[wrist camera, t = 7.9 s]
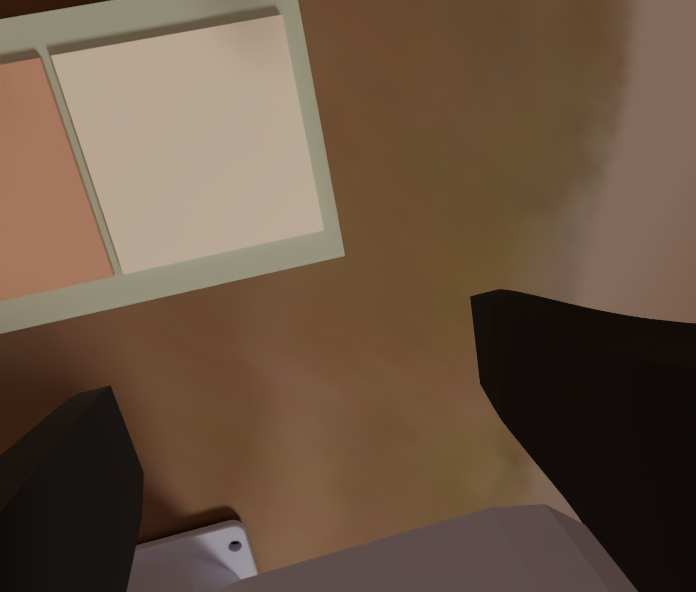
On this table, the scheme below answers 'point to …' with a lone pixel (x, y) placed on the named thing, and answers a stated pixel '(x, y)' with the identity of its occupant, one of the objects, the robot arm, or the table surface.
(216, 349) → the table surface
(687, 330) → the robot arm
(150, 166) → the board
